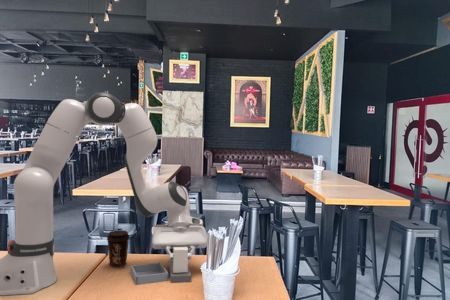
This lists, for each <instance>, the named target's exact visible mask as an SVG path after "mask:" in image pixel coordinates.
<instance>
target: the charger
mask: <svg viewBox="0 0 450 300" xmlns="http://www.w3.org/2000/svg"><path fill="white" fill-rule="evenodd" d="M172 253H174V259H173V273H180V272H181V273H183V272H188V266H189V259H188V253H189V248H188V247H173V249H172Z"/></svg>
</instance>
